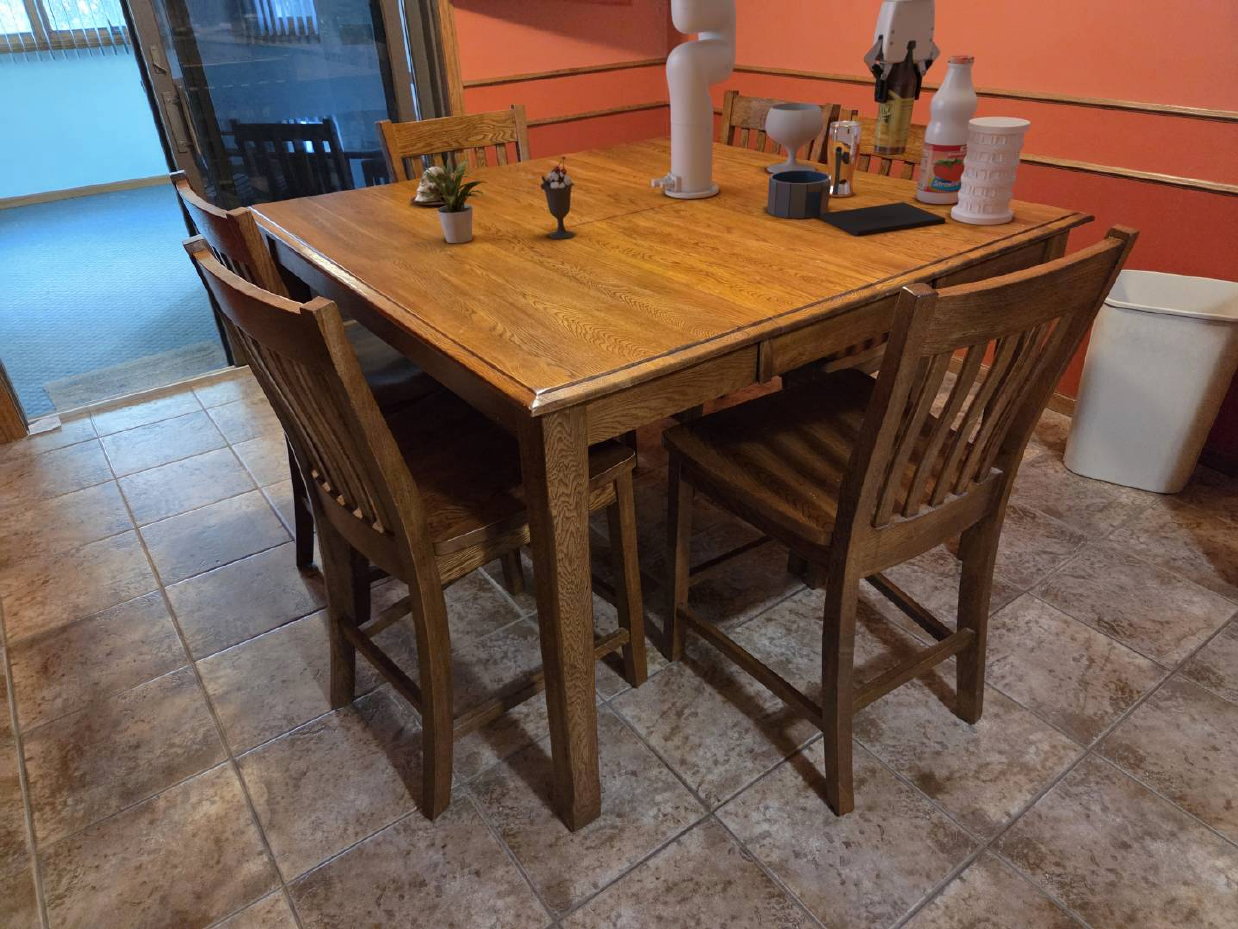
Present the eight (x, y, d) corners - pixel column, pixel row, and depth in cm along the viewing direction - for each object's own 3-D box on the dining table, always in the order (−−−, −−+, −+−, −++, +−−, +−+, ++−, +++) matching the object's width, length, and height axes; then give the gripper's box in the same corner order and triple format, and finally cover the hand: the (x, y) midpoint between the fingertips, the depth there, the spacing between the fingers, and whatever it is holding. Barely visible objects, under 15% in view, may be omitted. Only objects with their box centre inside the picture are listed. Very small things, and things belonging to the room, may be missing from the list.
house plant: (430, 256, 157) (415, 168, 149) (410, 238, 168) (396, 156, 159) (499, 243, 163) (489, 157, 154) (476, 227, 173) (465, 146, 164)
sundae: (582, 231, 167) (577, 155, 159) (570, 241, 162) (564, 162, 154) (553, 229, 169) (546, 154, 161) (540, 239, 164) (533, 161, 156)
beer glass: (852, 189, 187) (859, 119, 179) (856, 197, 181) (864, 125, 173) (821, 190, 188) (827, 120, 180) (825, 198, 182) (831, 126, 174)
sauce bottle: (868, 150, 161) (881, 37, 150) (898, 149, 161) (914, 36, 151) (879, 157, 155) (894, 40, 145) (911, 155, 155) (928, 39, 145)
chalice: (824, 175, 200) (830, 109, 192) (767, 177, 200) (770, 112, 192) (813, 163, 212) (818, 101, 204) (759, 165, 212) (762, 103, 204)
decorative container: (940, 218, 164) (956, 123, 155) (964, 206, 171) (981, 114, 162) (998, 228, 157) (1018, 129, 148) (1021, 214, 164) (1041, 119, 155)
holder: (785, 221, 167) (787, 186, 164) (757, 207, 178) (759, 174, 174) (838, 213, 170) (842, 179, 167) (808, 200, 181) (811, 167, 177)
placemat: (856, 236, 157) (857, 230, 156) (819, 218, 168) (819, 213, 168) (944, 223, 162) (945, 218, 161) (902, 206, 173) (903, 201, 173)
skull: (429, 206, 185) (407, 168, 186) (418, 230, 194) (396, 193, 194) (473, 194, 192) (451, 157, 192) (460, 218, 201) (439, 182, 201)
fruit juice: (940, 192, 182) (963, 52, 167) (970, 201, 175) (997, 56, 160) (906, 197, 179) (926, 56, 164) (935, 207, 172) (960, 60, 157)
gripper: (938, -13, 149) (923, 94, 158) (856, -8, 145) (845, 102, 154) (965, -12, 143) (948, 99, 152) (880, -7, 138) (867, 107, 148)
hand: (896, 99), depth 153 cm, fingers closed on sauce bottle, 6 cm apart
